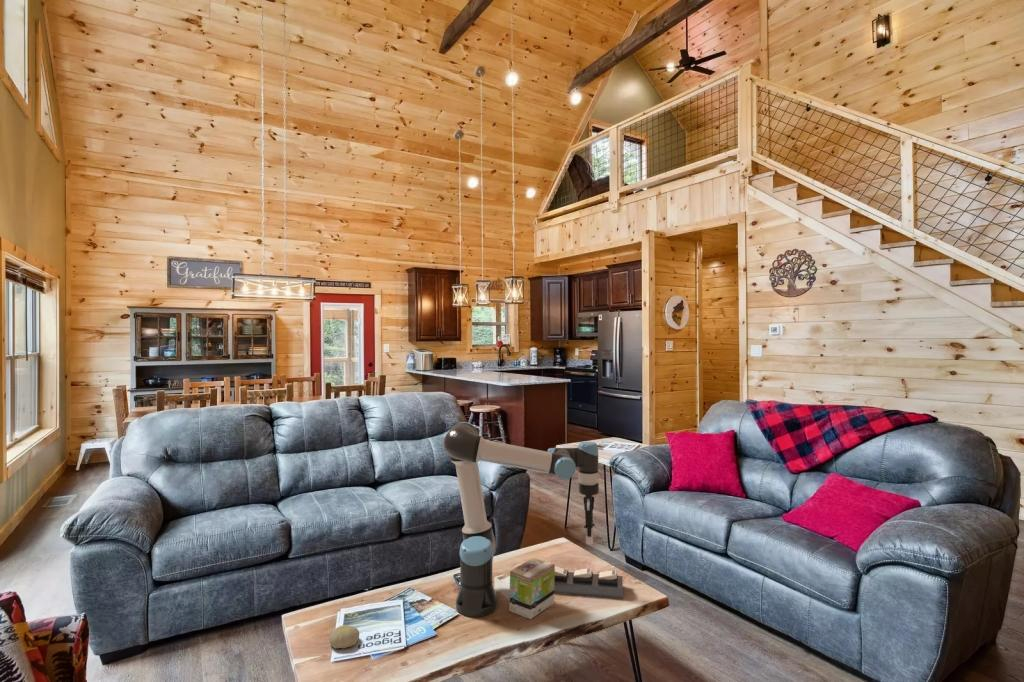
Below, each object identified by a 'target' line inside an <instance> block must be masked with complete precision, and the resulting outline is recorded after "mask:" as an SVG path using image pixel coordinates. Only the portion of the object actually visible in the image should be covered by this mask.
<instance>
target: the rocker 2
mask: <svg viewBox="0 0 1024 682" xmlns="http://www.w3.org/2000/svg"><path fill="white" fill-rule="evenodd" d="M574 571H575V572H574ZM574 571H573V572H574V577H580V578H588V577H591V576H592V572H593V571H592V568H591V567H588V568H581V569H577V570H575V569H574Z"/></svg>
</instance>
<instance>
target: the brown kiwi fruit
mask: <svg viewBox="0 0 1024 682" xmlns="http://www.w3.org/2000/svg"><path fill="white" fill-rule="evenodd" d="M358 640H360V630H359V629H358V628H356V627H355V626H352V625H347V624H342V625H340V626H337V627H336V628H335V629H333V630H332V631H331V632H330V634H329V643H330V645H331V647H332V648H334V647H335V648H334V649H336V648H342V649H346V648H345V647H349V646H351V647H353V646H354V645H355V644H356V643H357V642H358ZM352 645H353V646H352ZM349 648H350V647H349Z"/></svg>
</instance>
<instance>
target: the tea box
mask: <svg viewBox="0 0 1024 682" xmlns="http://www.w3.org/2000/svg"><path fill="white" fill-rule="evenodd" d="M555 566H556V565H555V564H554V563H552V562H549V561H545V560H541V559H538V558H535V557H532V558H531V559H529V560H527V561H525V562H524V563H522V564H520V565H519V566H517V567H515V568H513V569H511V570H509V606H508V607H509V608H508V609H509V612H511V613H513V614H517V615H518V616H521V617H523V618H527V619H529V620H532V619H533V618H534V617H536V616H537V615H539V614H540V613H541V612H543V611H545V610H546V609H547V608H549V607H550V606H552V605H554V604H555V593H554V590H555V585H554V582H555Z"/></svg>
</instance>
